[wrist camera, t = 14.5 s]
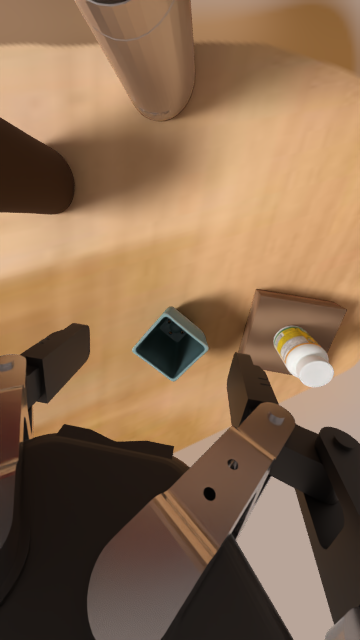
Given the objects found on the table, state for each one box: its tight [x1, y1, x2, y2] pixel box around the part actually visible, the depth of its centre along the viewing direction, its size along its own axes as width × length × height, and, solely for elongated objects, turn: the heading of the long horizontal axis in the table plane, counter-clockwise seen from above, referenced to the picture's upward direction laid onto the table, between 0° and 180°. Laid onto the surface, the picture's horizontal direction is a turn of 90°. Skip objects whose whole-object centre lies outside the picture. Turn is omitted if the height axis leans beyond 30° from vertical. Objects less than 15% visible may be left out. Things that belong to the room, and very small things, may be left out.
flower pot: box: [132, 307, 209, 381], centre depth 38 cm, size 9×9×9 cm
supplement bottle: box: [273, 325, 334, 387], centre depth 32 cm, size 5×5×10 cm
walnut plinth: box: [238, 289, 347, 375], centre depth 38 cm, size 13×13×4 cm
